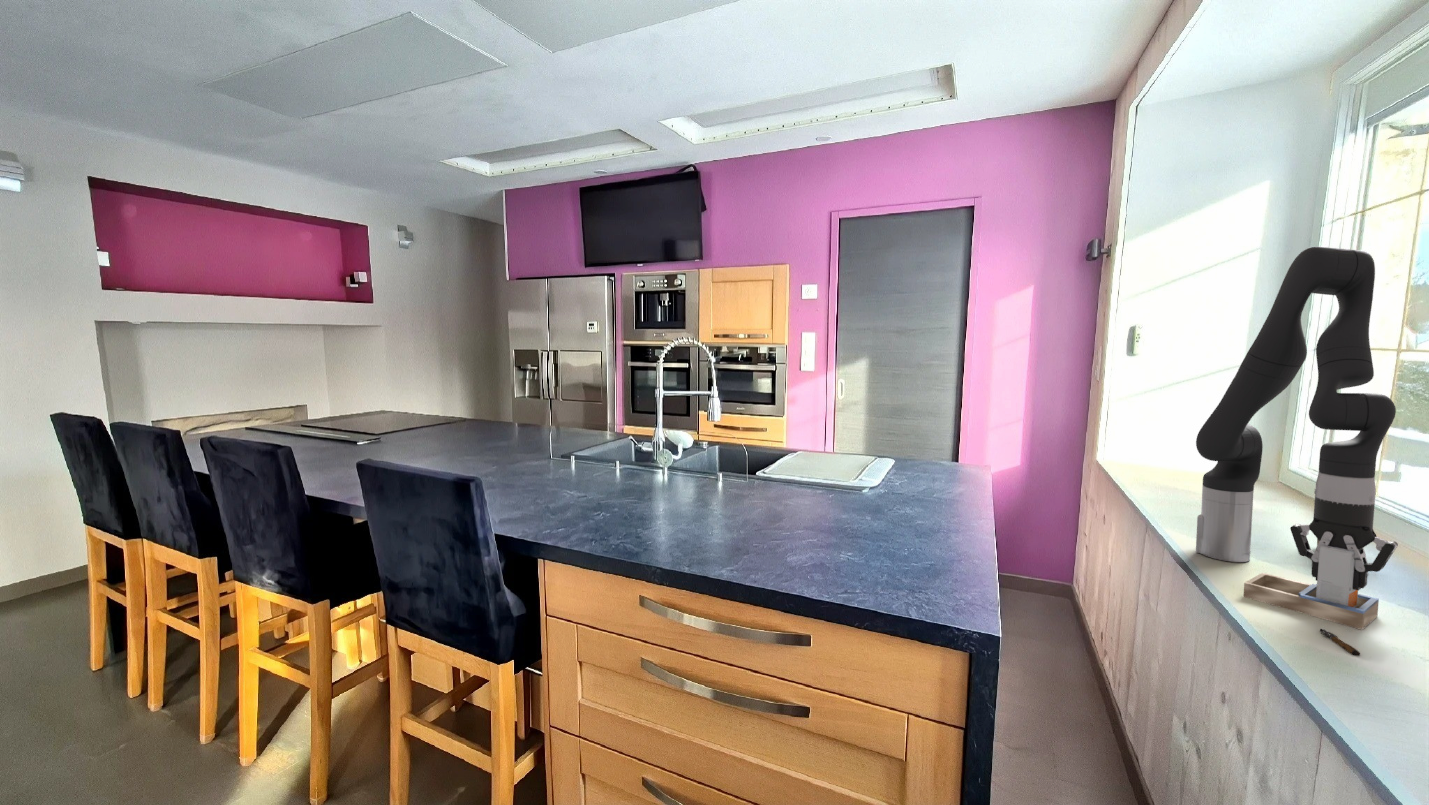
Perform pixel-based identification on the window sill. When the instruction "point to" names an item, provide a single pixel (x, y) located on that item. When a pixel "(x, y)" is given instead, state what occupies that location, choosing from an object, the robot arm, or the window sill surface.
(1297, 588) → the organiser
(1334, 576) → the skincare box
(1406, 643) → the window sill surface
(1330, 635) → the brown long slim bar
